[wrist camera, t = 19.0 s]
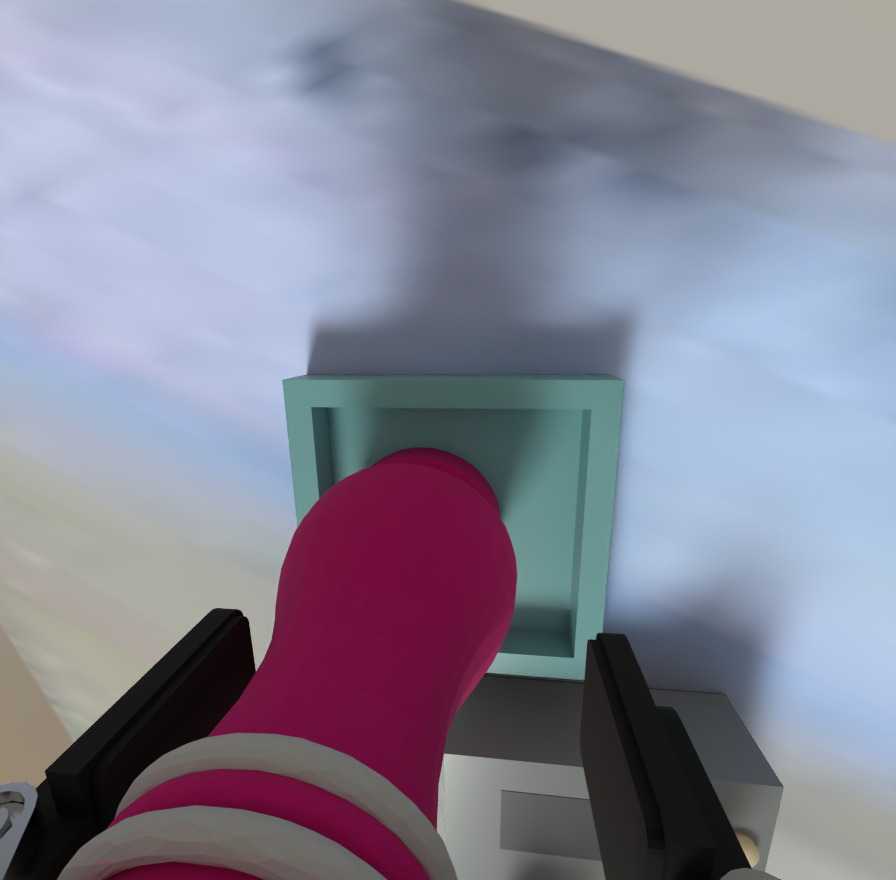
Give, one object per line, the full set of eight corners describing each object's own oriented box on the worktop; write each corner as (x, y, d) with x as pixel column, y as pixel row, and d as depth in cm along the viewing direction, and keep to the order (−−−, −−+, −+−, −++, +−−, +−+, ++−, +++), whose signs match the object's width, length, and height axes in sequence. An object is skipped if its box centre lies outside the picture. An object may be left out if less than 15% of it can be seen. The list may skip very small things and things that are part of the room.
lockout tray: (609, 374, 16) (624, 380, 14) (588, 646, 19) (598, 681, 17) (305, 374, 18) (282, 379, 16) (328, 628, 20) (310, 659, 18)
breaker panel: (725, 694, 19) (789, 795, 15) (691, 890, 22) (736, 1022, 18) (454, 673, 20) (443, 761, 16) (455, 860, 23) (446, 976, 19)
